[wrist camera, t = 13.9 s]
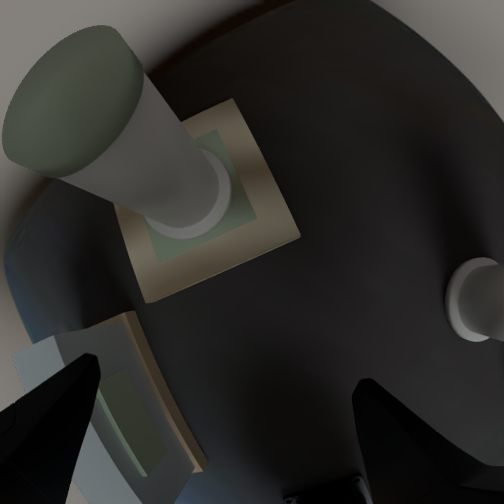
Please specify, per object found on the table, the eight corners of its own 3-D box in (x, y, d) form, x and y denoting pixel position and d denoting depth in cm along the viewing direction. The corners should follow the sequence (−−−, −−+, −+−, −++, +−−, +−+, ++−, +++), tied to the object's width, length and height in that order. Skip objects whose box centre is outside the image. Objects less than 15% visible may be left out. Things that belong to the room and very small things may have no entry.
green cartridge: (251, 187, 19) (182, 38, 6) (189, 259, 19) (26, 225, 6) (187, 137, 19) (85, 6, 7) (131, 202, 20) (-18, 129, 7)
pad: (300, 237, 19) (300, 234, 18) (153, 302, 20) (145, 303, 19) (235, 106, 21) (232, 97, 19) (112, 171, 22) (103, 166, 20)
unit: (208, 461, 19) (170, 530, 10) (151, 469, 19) (103, 524, 11) (135, 310, 20) (54, 323, 12) (84, 332, 21) (6, 348, 12)
